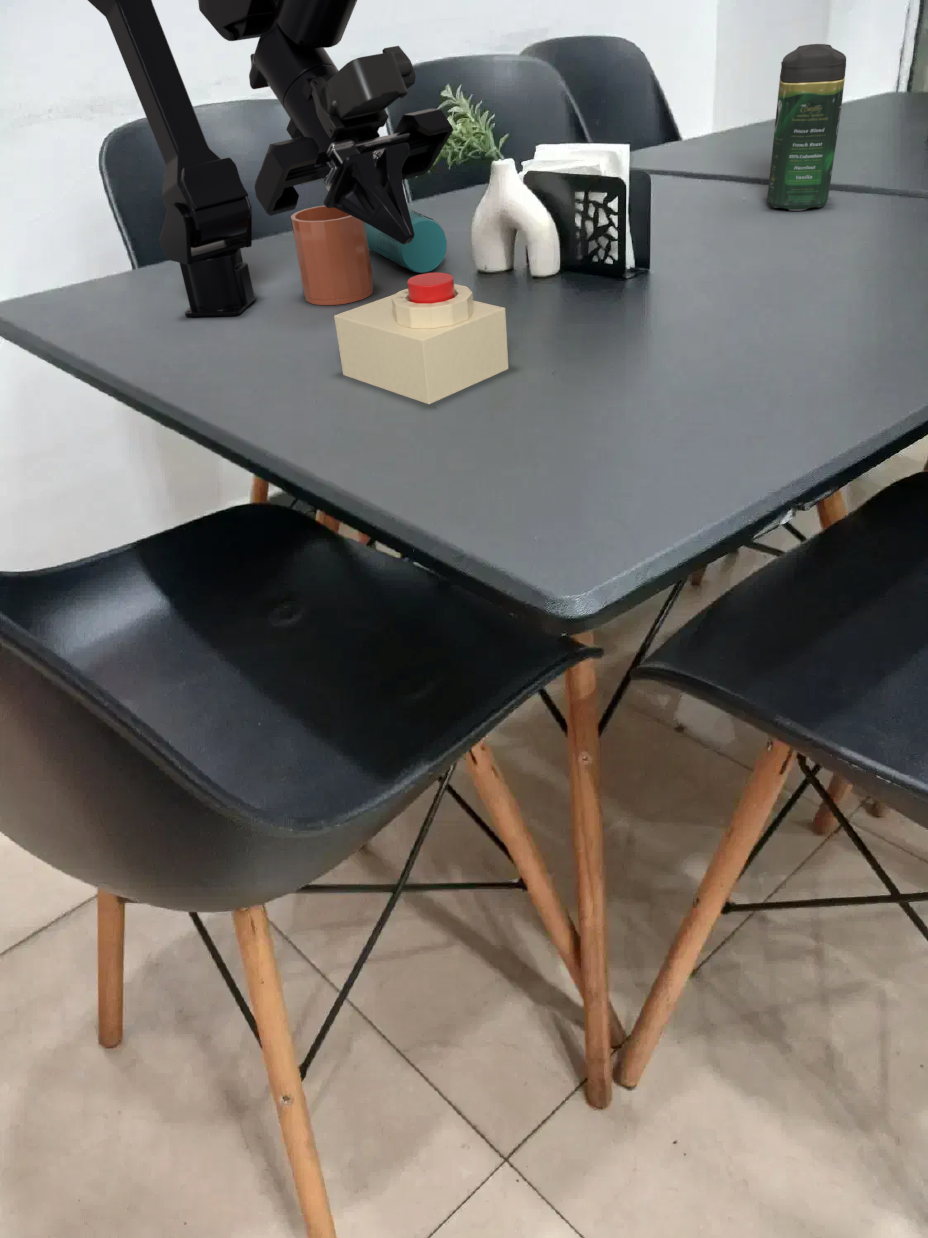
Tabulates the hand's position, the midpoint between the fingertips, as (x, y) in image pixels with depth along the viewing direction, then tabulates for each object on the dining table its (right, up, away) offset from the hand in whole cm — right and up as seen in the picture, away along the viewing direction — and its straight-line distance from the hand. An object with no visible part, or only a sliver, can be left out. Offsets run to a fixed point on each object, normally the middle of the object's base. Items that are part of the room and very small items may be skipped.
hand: (409, 240), depth 84 cm
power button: (+2, -5, +1) cm, 5 cm away
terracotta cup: (-10, +5, +29) cm, 31 cm away
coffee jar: (+50, +23, +47) cm, 72 cm away
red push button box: (+1, -10, +7) cm, 12 cm away
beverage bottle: (+1, +10, +30) cm, 32 cm away
